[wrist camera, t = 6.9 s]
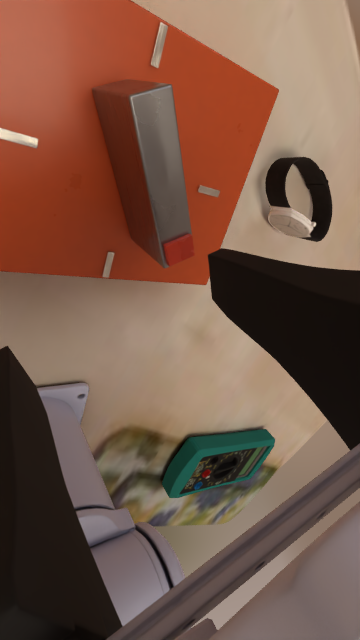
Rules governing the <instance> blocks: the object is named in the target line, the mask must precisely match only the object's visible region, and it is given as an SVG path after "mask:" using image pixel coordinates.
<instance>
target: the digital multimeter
mask: <svg viewBox="0 0 360 640" xmlns="http://www.w3.org/2000/svg"><path fill="white" fill-rule="evenodd" d="M274 443H275V439H274V437H273V436H272V435H271V434H270V433H269V432H268V431H267V430H266V429H260V430H251V431H242V432H234V433H225V434H215V435H206V436H197V437H188V439H187V440H186V442H185V443H184V445H183V446H182V447H181V449H180V450H179V452H178V453H177V454H176V456H175V457H174V459H173V460H172V462H171V463H170V465H169V467H168V469H167V471H166V473H165V476H164V479H163V482H162V485H163V487H164V489H165V491H166V493H167V494H168V496H169V498H179V497H182V496H186V495H189V494H193V493H196V492H200V491H203V490H207V489H211V488H214V487H218V486H222V485H226V484H231V483H235V482H239V481H244V480H248V479H250V478H251V477H252V476H253V475H254V474H255V472H256V471H257V470H258V468H259V467H260V466H261V465H262V463H263V462H264V460H265V459H266V457H267V456H268V454H269V453H270V451H271V450H272V448H273V447H274Z"/></svg>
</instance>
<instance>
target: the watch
mask: <svg viewBox="0 0 360 640" xmlns="http://www.w3.org/2000/svg"><path fill="white" fill-rule="evenodd" d="M293 163H294V164H295V165H296V166H297V167H298V169H299V171H300V172H301V174H302V176H303V177H304V179H305V182H306V185H307V187H308V189H310V193H311V196H312V202H313V214H312V220H311V221H310V220H309V219H308V218H307V217H306V216H304V215H303V214H301V213H299V212H297V211H296V210H293V209H292V208H291V207H290V205H289V203H288V201H287V197H286V192H285V182H286V176H287V173H288V171H289V169H290V167H291V165H292V164H293ZM266 194H267V198H268V201H269V203H270V206H269V207H270V208H272V209H271V211H270V213H269V216H268V221H269V222H270V224H271V225H272V226H273V227H274V228H276V229H277V230H279V231H280V232H282V233H284V234H286V235H290V236H294V237H298V238H302V239H306V240H311V241H315V242H318V241H321V240H322V239H323V238H324V237H325V235H326V234H327V232H328V230H329V226H330V223H331V217H332V199H331V194H330V189H329V185H328V180H327V179H326V176H325V174H324V172H323V171H322V170H320V169H319V167H318V166H317V164H316V163H315V162H314V161H313V160H311V159H309V158H306V157H293V158H280V159H278V160H276V161H275V162H274V163H273V164H272V165H271V167H270V168H269V170H268V173H267V177H266Z"/></svg>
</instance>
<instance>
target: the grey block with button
mask: <svg viewBox="0 0 360 640" xmlns="http://www.w3.org/2000/svg"><path fill="white" fill-rule="evenodd" d="M92 93H93V96H94V100H95V104H96V108H97V111H98V115H99V119H100V123H101V127H102V130H103V134H104V138H105V142H106V145H107V149H108V153H109V157H110V161H111V164H112V168H113V172H114V176H115V179H116V183H117V187H118V191H119V195H120V198H121V202H122V206H123V210H124V213H125V217H126V221H127V225H128V229H129V232H130V236H131V239H132V240H133V241H134V242H135V243H136V244H137V245H139V246H140V247H141V248H142V249H143V250H144V251H145V252H146V253H147V254H149V255H150V256H151V257H152V258H153V259H154V260H155V261H156V262H158V263H159V264H160V265H161V266H162V267H163V268H168V267H170V266H172V265H175V264H177V263H179V262H181V261H184V260H186V259H188V258H190V257H192V256H194V255H195V253H194V245H193V238H192V231H191V224H190V216H189V209H188V201H187V194H186V186H185V178H184V171H183V163H182V156H181V148H180V141H179V133H178V125H177V118H176V110H175V103H174V95H173V88H172V85H171V84H166V83H157V82H148V81H139V80H131V79H125V80H122V81H118V82H114V83H110V84H106V85H102V86H98V87H94V88H92Z"/></svg>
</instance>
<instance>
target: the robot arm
mask: <svg viewBox="0 0 360 640" xmlns="http://www.w3.org/2000/svg"><path fill="white" fill-rule="evenodd" d="M208 263H209V273H210V282H211V292H212V299H213V301H214V302H215V303H216V304H217V305H218V307H219V308H220V309H221V310H222V311H223V312H224V314H225V315H226V316H227V317H228V318H229V319H230V320H231V321H232V322H234V323H235V324H236V325H237V326H238V327H239V328H240V329H241V330H243V331H244V332H245V333H246V334H247V335H248V336H250V337H251V338H252V339H253V340H254V341H255V342H256V343H258V344H259V345H260V346H261V347H262V348H263V349H265V350H266V351H267V352H268V353H269V354H270V355H271V356H272V357H273V358H274V359H275V360H277V361H278V363H279V364H280V365H281V366H282V367H283V368H284V369H285V370H286V371H287V372H288V373H289V374H290V376H291V377H292V378H293V379H294V380H295V381H296V382H297V383H298V385H299V386H300V387H301V388H302V389H303V390H304V391H305V393H306V394H307V395H308V396H309V397H310V398H311V400H312V401H313V402H314V403H315V405H316V406H317V407H318V408H319V410H320V411H321V412H322V413H323V414H324V416H325V417H326V418H327V419H328V421H329V422H330V423H331V425H332V426H333V427H334V429H335V430H336V431H337V433H338V434H339V435H340V437H341V438H342V439H343V441H344V442H345V443H346V445H347V446H348V448H349V449H350V451H349V452H348V453H347V454H345V455H344V456H343V457H342V458H340V459H339V460H338V461H336V462H335V463H334V464H333V465H331V466H330V467H329V468H327V469H326V470H325V471H323V472H322V473H321V474H320V475H318V476H317V477H316V478H314V479H313V480H312V481H311V482H309V483H308V484H307V485H305V486H304V487H303V488H302V489H300V490H299V491H298V492H296V493H295V494H294V495H293V496H291V497H290V498H289V499H287V500H286V501H285V502H283V503H282V504H281V505H279V506H278V507H277V508H276V509H275V510H273V511H272V512H270V513H269V514H268V515H267V516H265V517H264V518H263V519H261V520H260V521H259V522H257V523H256V524H255V525H254V526H252V527H251V528H250V529H248V530H247V531H246V532H245V533H243V534H242V535H241V536H239V537H238V538H237V539H236V540H234V541H233V542H232V543H230V544H229V545H228V546H226V547H225V548H224V549H223V550H221V551H220V552H219V553H217V554H216V555H215V556H214V557H212V558H211V559H210V560H208V561H207V562H206V563H204V564H203V565H202V566H201V567H199V568H198V569H197V570H195V571H194V572H193V573H191V574H190V575H189V576H188V577H186V578H185V575H184V572H183V569H182V567H181V564H180V562H179V560H178V558H177V556H176V554H175V552H174V550H173V548H172V547H171V545H170V544H169V542H168V541H167V540H166V539H165V537H163V536H162V535H161V534H160V533H159V532H158V531H157V530H156V529H155V528H154V527H152V526H151V525H150V524H148V523H145V522H138V523H136V524H134V522H133V520H132V518H131V515H130V513H129V511H128V509H127V508H123V509H119V510H115V508H114V505H113V503H112V501H111V498H110V496H109V493H108V491H107V489H106V486H105V484H104V482H103V479H102V477H101V474H100V472H99V470H98V467H97V465H96V462H95V460H94V458H93V455H92V453H91V450H90V448H89V446H88V443H87V441H86V438H85V436H84V434H83V431H82V429H81V426H80V424H81V420H82V416H83V412H84V408H85V404H86V400H87V396H88V392H89V387H88V385H87V384H86V383H76V384H67V385H59V386H50V387H42V388H37V387H36V386H35V385H34V383H33V382H32V380H31V379H30V377H29V376H28V375H27V373H26V372H25V370H24V369H23V367H22V366H21V364H20V363H19V362H18V360H17V359H16V357H15V356H14V354H13V353H12V351H11V350H10V349H9V347H8V346H6V347H4V348H2V349H0V640H360V502H359V503H357V504H356V505H355V506H354V507H353V508H351V509H350V510H349V511H348V512H347V513H346V514H344V515H343V516H342V517H341V518H340V519H338V520H337V521H336V522H335V523H334V524H333V525H331V526H330V527H329V528H328V529H327V530H326V531H325V532H324V533H322V534H321V535H320V536H319V537H318V538H317V539H316V540H314V541H313V542H312V543H311V544H310V545H309V546H308V547H307V548H306V549H305V550H303V551H302V552H301V553H300V554H299V555H298V556H297V557H296V558H295V559H294V560H293V561H291V562H290V564H288V565H287V566H286V567H285V568H284V569H283V570H282V571H281V572H280V573H278V574H277V575H276V576H275V577H274V578H273V579H272V580H271V581H270V582H269V583H268V584H267V585H266V586H265V587H264V588H263V589H262V590H260V591H259V593H257V594H256V595H255V596H254V597H253V598H252V599H251V600H250V601H249V602H248V603H247V604H246V605H245V606H243V608H241V609H240V610H239V611H238V612H237V613H236V614H235V615H234V616H233V617H232V618H231V619H230V620H229V621H228V622H227V623H225V624H224V625H223V626H222V627H221V628H220V629H219V630H217V629H216V627H215V625H214V623H213V621H212V620H211V619H208V618H207V619H205V620H203V621H202V622H200V623H199V624H198V625H196V626H194V627H193V628H191V627H192V626H193V625H194V624H195V623H196V622H198V621H199V620H200V619H201V618H203V617H204V616H205V615H206V614H207V613H209V612H210V611H211V610H212V609H213V608H215V607H216V606H217V605H218V604H219V603H221V602H222V601H223V600H224V599H225V598H227V597H228V596H229V595H230V594H232V593H233V592H234V591H235V590H236V589H238V588H239V587H240V586H241V585H242V584H244V583H245V582H246V581H247V580H248V579H250V578H251V577H252V576H253V575H255V574H256V573H257V572H258V571H259V570H261V569H262V568H263V567H264V566H265V565H267V563H269V562H270V561H271V560H273V559H274V558H275V557H276V556H278V555H279V554H280V553H281V552H282V551H284V550H285V549H286V548H287V547H288V546H290V545H291V544H292V543H293V542H294V541H296V540H297V539H298V538H299V537H300V536H301V535H303V534H304V533H305V532H307V531H308V530H309V529H310V528H311V527H313V526H314V525H315V524H316V523H317V522H319V521H320V520H321V519H322V518H323V517H325V516H326V515H327V514H328V513H330V511H332V510H333V509H334V508H335V507H337V506H338V505H339V504H340V503H341V502H342V501H344V500H345V499H346V498H348V497H349V496H350V495H351V494H352V493H354V492H355V491H356V490H357V489H358V488H360V271H356V270H338V269H328V268H318V267H311V266H305V265H299V264H293V263H288V262H283V261H278V260H273V259H269V258H264V257H260V256H256V255H251V254H247V253H243V252H238V251H234V250H229V249H222V248H221V249H219V250H217V251H215V252H213V253H210V254H208ZM80 394H82V395H80Z"/></svg>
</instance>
